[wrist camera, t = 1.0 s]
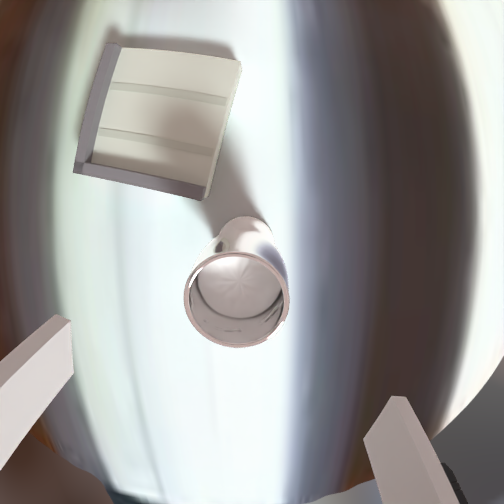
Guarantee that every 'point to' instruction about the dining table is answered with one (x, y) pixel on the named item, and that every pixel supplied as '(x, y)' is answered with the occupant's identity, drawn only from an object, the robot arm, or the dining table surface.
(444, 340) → the dining table surface
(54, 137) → the dining table surface
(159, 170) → the dock
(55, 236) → the dining table surface
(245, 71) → the dining table surface
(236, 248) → the beer glass
